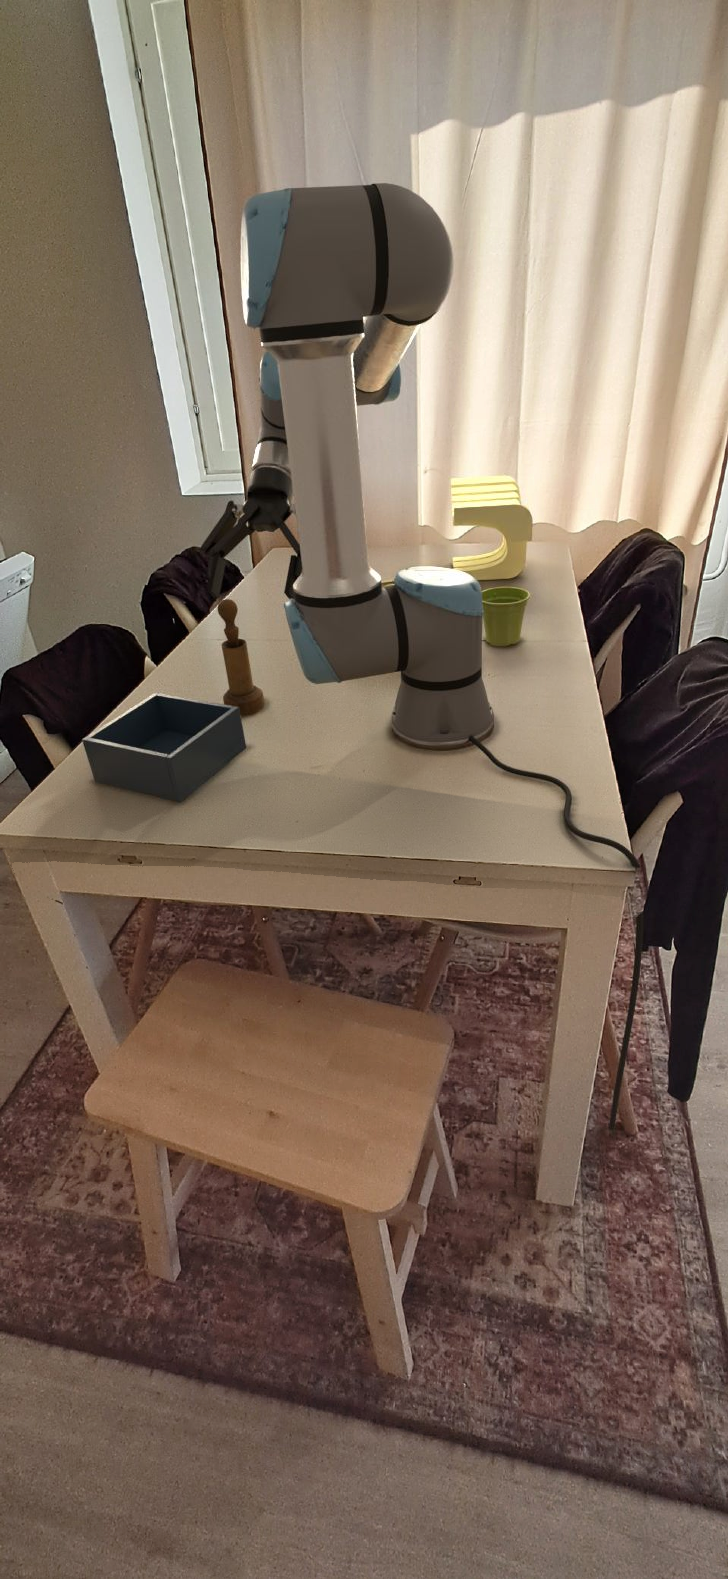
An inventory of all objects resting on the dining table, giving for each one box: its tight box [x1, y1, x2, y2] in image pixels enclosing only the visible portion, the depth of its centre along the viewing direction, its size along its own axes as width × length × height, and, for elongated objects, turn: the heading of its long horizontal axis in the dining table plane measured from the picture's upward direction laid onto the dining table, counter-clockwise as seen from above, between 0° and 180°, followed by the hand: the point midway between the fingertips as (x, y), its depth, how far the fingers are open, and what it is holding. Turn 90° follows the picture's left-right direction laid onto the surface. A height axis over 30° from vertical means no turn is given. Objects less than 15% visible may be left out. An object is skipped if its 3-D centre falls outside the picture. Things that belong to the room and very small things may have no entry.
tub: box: [81, 692, 247, 803], centre depth 110 cm, size 16×16×7 cm
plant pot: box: [481, 586, 531, 647], centre depth 139 cm, size 9×9×9 cm
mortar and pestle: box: [217, 598, 265, 717], centre depth 121 cm, size 7×6×18 cm
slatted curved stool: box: [450, 475, 534, 581], centre depth 173 cm, size 30×16×18 cm, turn 176°
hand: (250, 596), depth 124 cm, fingers open, 13 cm apart
